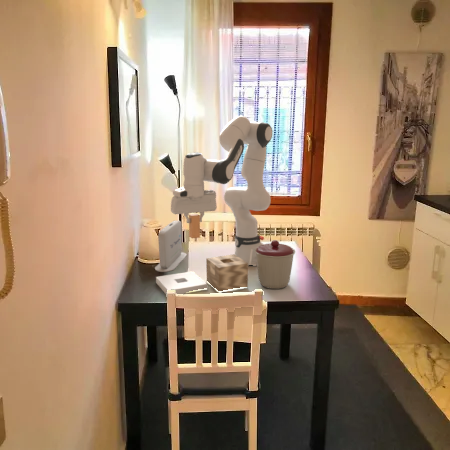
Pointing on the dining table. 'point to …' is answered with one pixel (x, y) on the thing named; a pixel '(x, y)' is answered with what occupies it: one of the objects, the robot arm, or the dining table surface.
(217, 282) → the notched wooden cube
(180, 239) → the wireless router
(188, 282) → the socket plate
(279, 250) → the canister
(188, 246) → the dining table surface
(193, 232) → the peg
